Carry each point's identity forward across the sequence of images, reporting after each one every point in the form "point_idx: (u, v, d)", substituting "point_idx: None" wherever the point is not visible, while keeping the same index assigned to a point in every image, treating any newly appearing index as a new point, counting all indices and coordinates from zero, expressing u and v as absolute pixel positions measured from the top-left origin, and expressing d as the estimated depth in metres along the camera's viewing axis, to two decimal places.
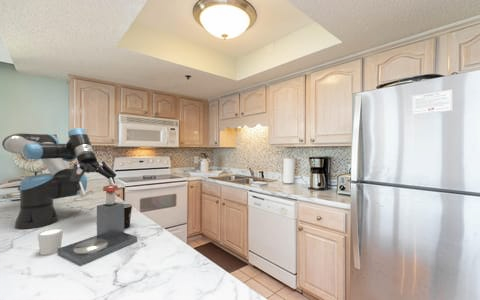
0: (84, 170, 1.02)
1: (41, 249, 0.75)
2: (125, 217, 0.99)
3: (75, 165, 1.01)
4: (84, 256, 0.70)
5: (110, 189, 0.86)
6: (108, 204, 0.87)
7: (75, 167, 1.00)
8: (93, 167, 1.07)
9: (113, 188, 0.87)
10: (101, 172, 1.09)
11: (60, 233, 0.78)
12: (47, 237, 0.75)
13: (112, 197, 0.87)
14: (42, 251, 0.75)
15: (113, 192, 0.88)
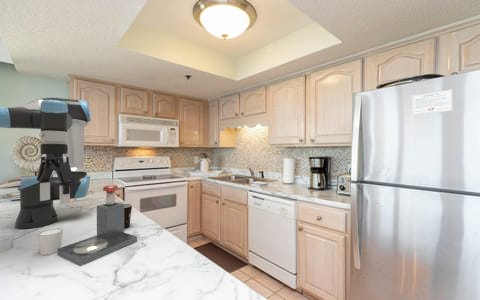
0: (44, 168, 0.79)
1: (41, 249, 0.75)
2: (125, 217, 0.99)
3: (41, 159, 0.80)
4: (84, 256, 0.70)
5: (110, 189, 0.86)
6: (108, 204, 0.87)
7: (41, 162, 0.81)
8: None
9: (113, 188, 0.87)
10: None
11: (60, 233, 0.78)
12: (47, 237, 0.75)
13: (112, 197, 0.87)
14: (42, 251, 0.75)
15: (113, 192, 0.88)
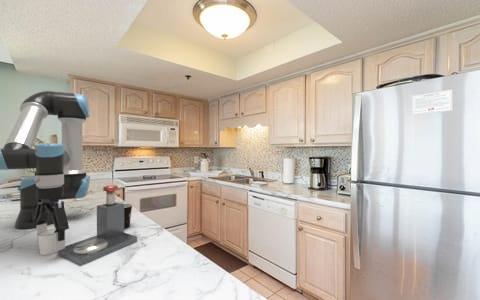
0: None
1: (41, 249, 0.75)
2: (125, 217, 0.99)
3: (38, 201, 0.79)
4: (84, 256, 0.70)
5: (110, 189, 0.86)
6: (108, 204, 0.87)
7: (37, 204, 0.79)
8: None
9: (113, 188, 0.87)
10: None
11: None
12: (47, 237, 0.75)
13: (112, 197, 0.87)
14: (42, 251, 0.75)
15: (113, 192, 0.88)
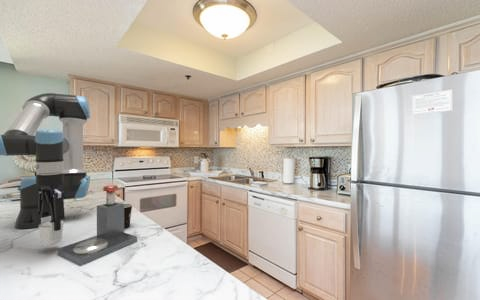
0: (42, 200, 0.78)
1: (42, 240, 0.76)
2: (125, 217, 0.99)
3: (38, 191, 0.79)
4: (84, 256, 0.70)
5: (110, 189, 0.86)
6: (108, 204, 0.87)
7: (38, 194, 0.79)
8: None
9: (113, 188, 0.87)
10: None
11: (61, 225, 0.79)
12: (48, 228, 0.75)
13: (112, 197, 0.87)
14: (43, 242, 0.76)
15: (113, 192, 0.88)
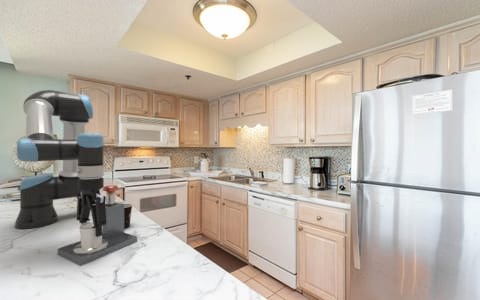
0: (82, 205, 0.76)
1: (83, 242, 0.73)
2: (125, 217, 0.99)
3: (77, 196, 0.78)
4: (84, 256, 0.70)
5: (110, 189, 0.86)
6: (108, 204, 0.87)
7: (78, 199, 0.78)
8: None
9: (113, 188, 0.87)
10: None
11: None
12: (89, 230, 0.73)
13: (112, 197, 0.87)
14: (84, 244, 0.73)
15: (113, 192, 0.88)
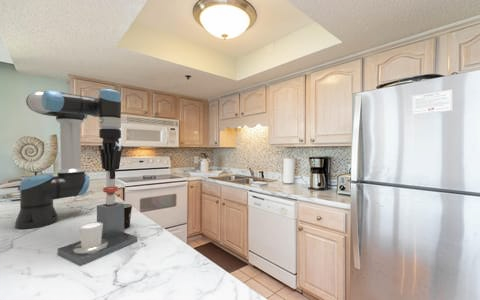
0: (105, 153, 0.87)
1: (83, 242, 0.73)
2: (125, 217, 0.99)
3: (99, 148, 0.89)
4: (84, 256, 0.70)
5: (110, 190, 0.86)
6: (108, 205, 0.87)
7: (100, 150, 0.89)
8: None
9: (113, 189, 0.87)
10: None
11: (101, 226, 0.76)
12: (89, 230, 0.73)
13: (112, 198, 0.87)
14: (84, 244, 0.73)
15: (113, 193, 0.88)
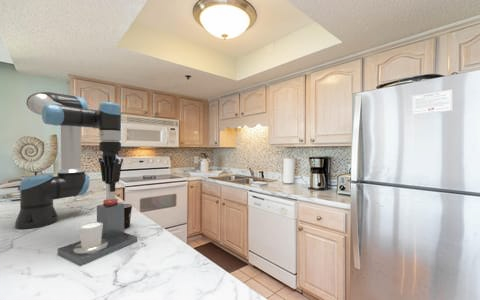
0: (105, 166, 0.87)
1: (83, 242, 0.73)
2: (125, 217, 0.99)
3: (99, 160, 0.89)
4: (84, 256, 0.70)
5: (110, 203, 0.86)
6: None
7: (100, 163, 0.89)
8: None
9: (113, 202, 0.87)
10: None
11: (101, 226, 0.76)
12: (89, 230, 0.73)
13: None
14: (84, 244, 0.73)
15: None
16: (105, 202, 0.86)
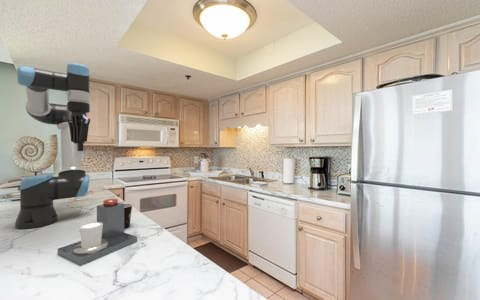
0: (73, 126, 0.90)
1: (83, 242, 0.73)
2: (125, 217, 0.99)
3: (68, 121, 0.92)
4: (84, 256, 0.70)
5: (110, 203, 0.86)
6: None
7: (69, 124, 0.92)
8: None
9: (113, 202, 0.87)
10: None
11: (101, 226, 0.76)
12: (89, 230, 0.73)
13: None
14: (84, 244, 0.73)
15: None
16: (105, 202, 0.86)
